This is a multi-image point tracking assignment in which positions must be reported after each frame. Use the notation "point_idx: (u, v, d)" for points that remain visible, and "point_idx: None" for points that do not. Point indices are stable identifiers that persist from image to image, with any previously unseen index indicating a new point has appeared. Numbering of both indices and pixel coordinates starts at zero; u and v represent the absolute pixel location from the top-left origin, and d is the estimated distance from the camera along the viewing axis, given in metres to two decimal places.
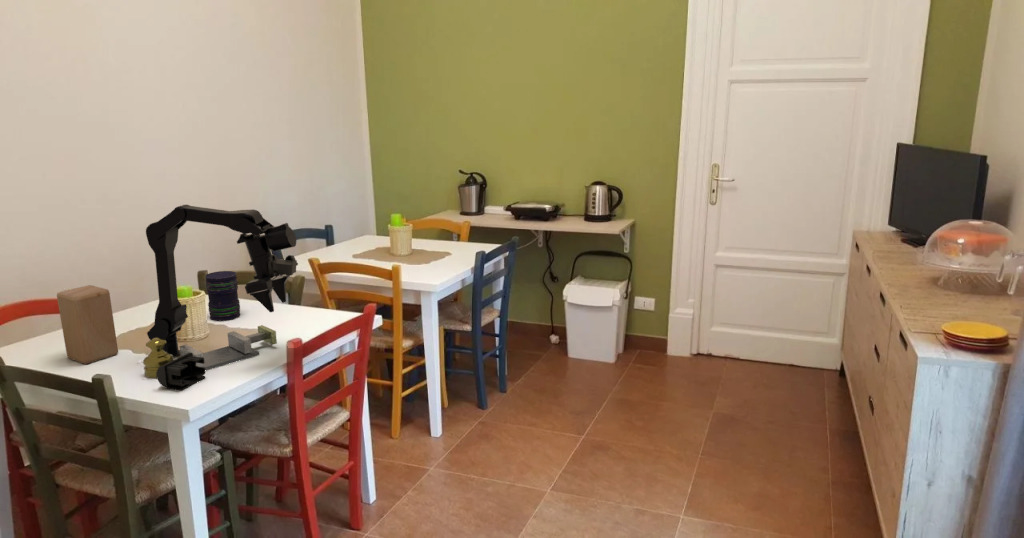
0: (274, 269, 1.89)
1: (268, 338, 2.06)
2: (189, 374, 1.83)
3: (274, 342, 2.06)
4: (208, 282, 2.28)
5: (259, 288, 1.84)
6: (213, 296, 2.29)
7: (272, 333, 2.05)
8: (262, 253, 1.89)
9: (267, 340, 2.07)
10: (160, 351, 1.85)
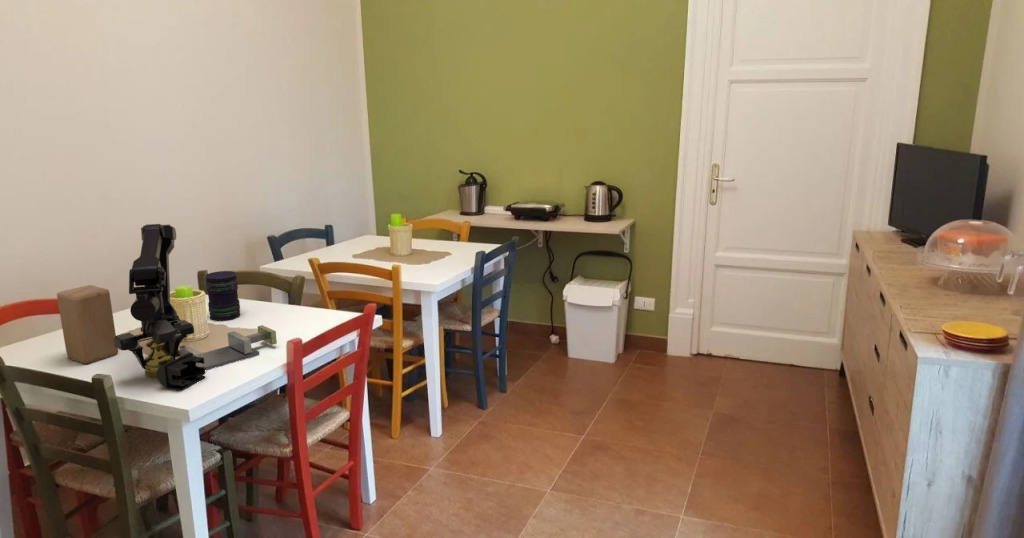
0: (148, 331, 1.80)
1: (268, 338, 2.06)
2: (189, 374, 1.83)
3: (274, 342, 2.06)
4: (208, 282, 2.28)
5: (119, 346, 1.78)
6: (213, 296, 2.29)
7: (272, 333, 2.05)
8: None
9: (267, 340, 2.07)
10: (160, 351, 1.85)
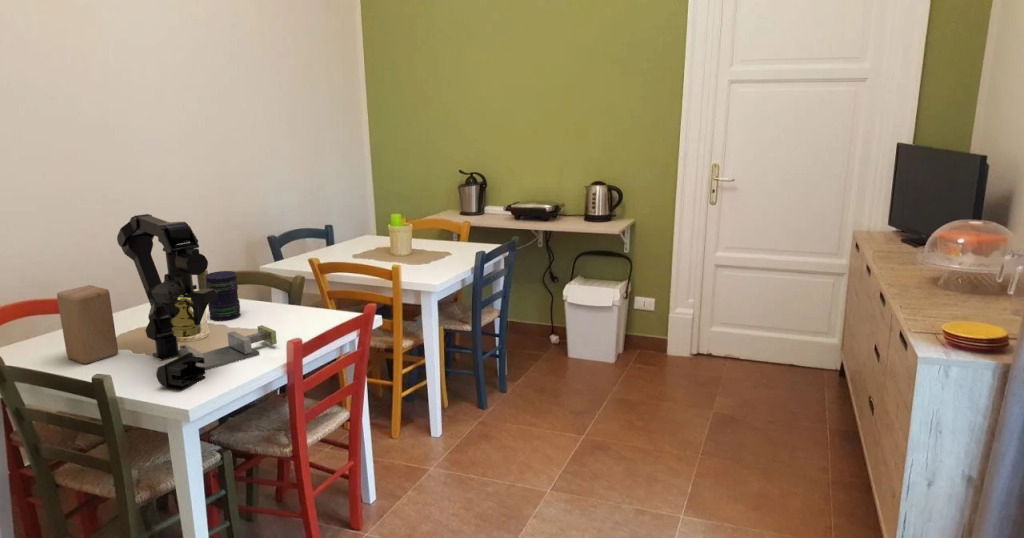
0: None
1: (268, 338, 2.06)
2: (189, 374, 1.83)
3: (274, 342, 2.06)
4: (208, 282, 2.28)
5: None
6: None
7: (272, 333, 2.05)
8: (173, 269, 1.83)
9: (267, 340, 2.07)
10: (182, 312, 1.87)
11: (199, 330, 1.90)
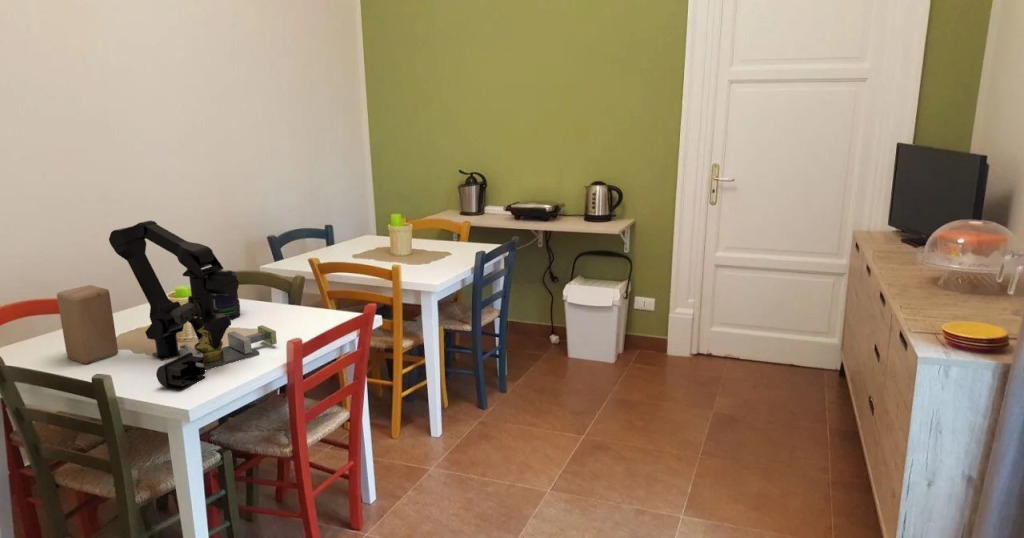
0: None
1: (268, 338, 2.06)
2: (189, 374, 1.83)
3: (274, 342, 2.06)
4: None
5: None
6: None
7: (272, 333, 2.05)
8: (201, 293, 1.88)
9: (267, 340, 2.07)
10: (203, 337, 1.93)
11: (218, 357, 1.94)
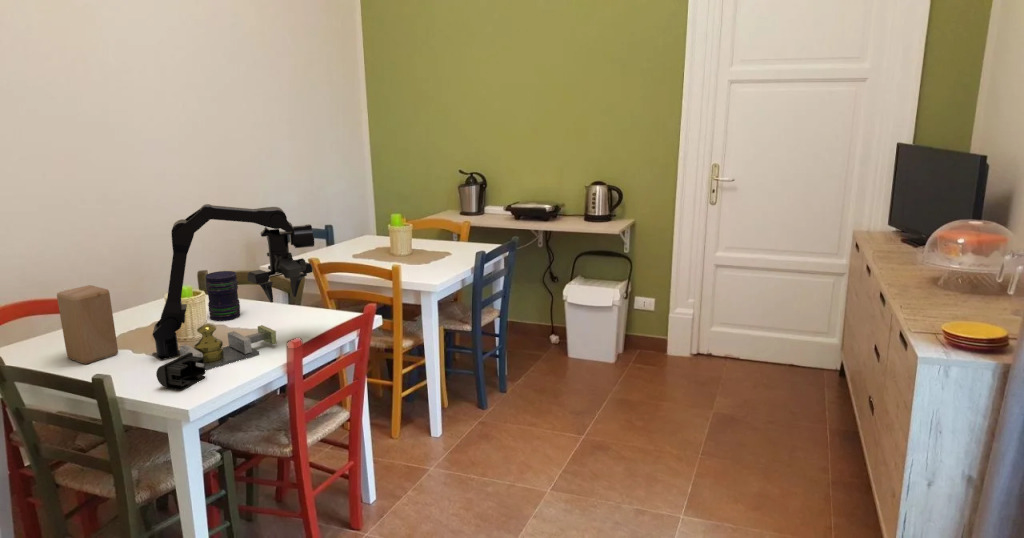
0: (278, 267, 2.03)
1: (268, 338, 2.06)
2: (189, 374, 1.83)
3: (274, 342, 2.06)
4: (208, 282, 2.28)
5: (253, 280, 2.00)
6: (213, 296, 2.29)
7: (272, 333, 2.05)
8: (285, 248, 2.04)
9: (267, 340, 2.07)
10: (203, 337, 1.93)
11: (218, 357, 1.94)
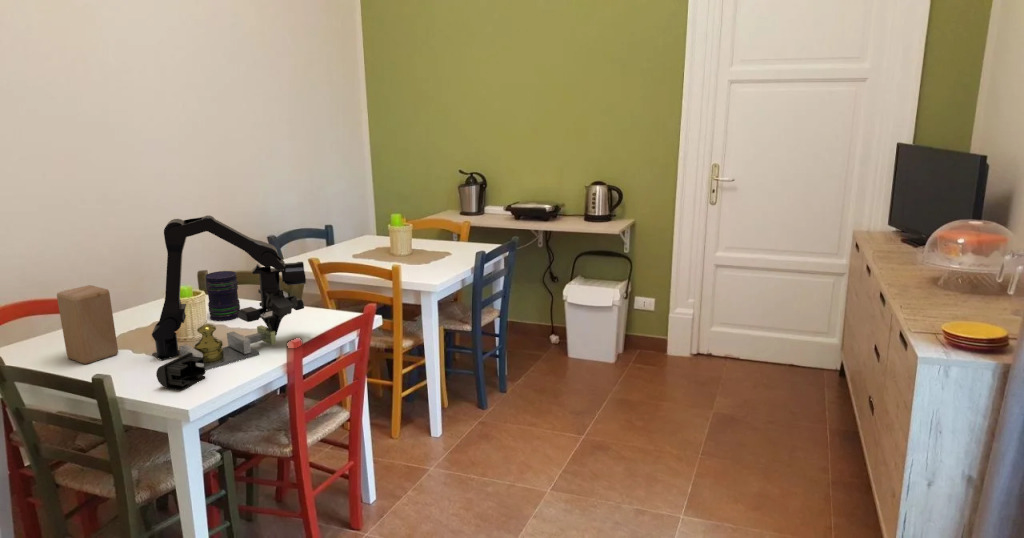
0: (269, 305, 2.03)
1: (267, 338, 2.06)
2: (189, 374, 1.83)
3: (273, 342, 2.05)
4: (208, 282, 2.28)
5: (244, 318, 2.00)
6: (213, 296, 2.29)
7: (271, 333, 2.04)
8: (276, 286, 2.04)
9: (266, 340, 2.06)
10: (203, 337, 1.93)
11: (218, 357, 1.94)
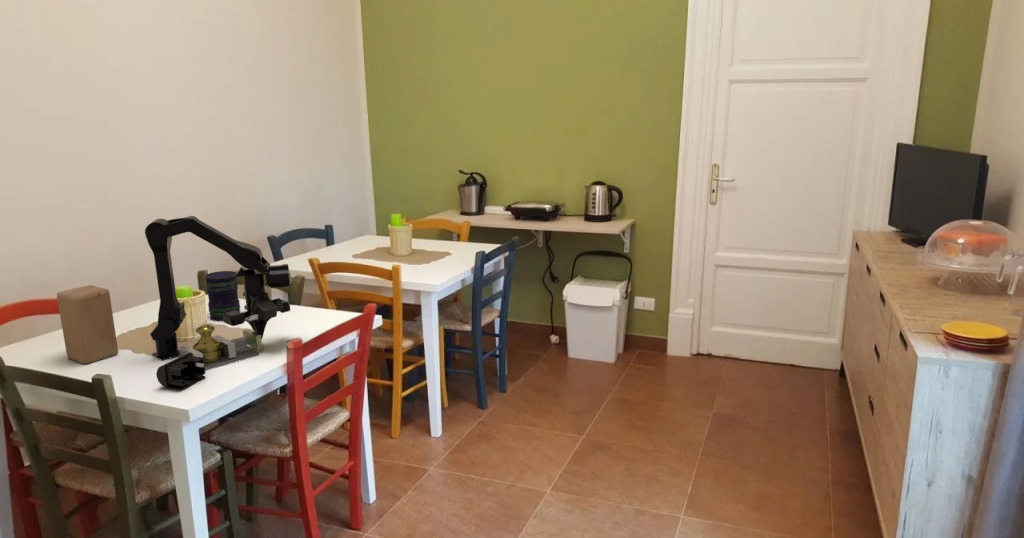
0: (254, 308, 1.99)
1: (253, 342, 2.03)
2: (189, 374, 1.83)
3: (259, 346, 2.02)
4: (208, 282, 2.28)
5: (228, 322, 1.97)
6: (213, 296, 2.29)
7: (257, 337, 2.01)
8: (260, 289, 2.00)
9: (252, 344, 2.03)
10: (201, 338, 1.93)
11: (217, 357, 1.94)
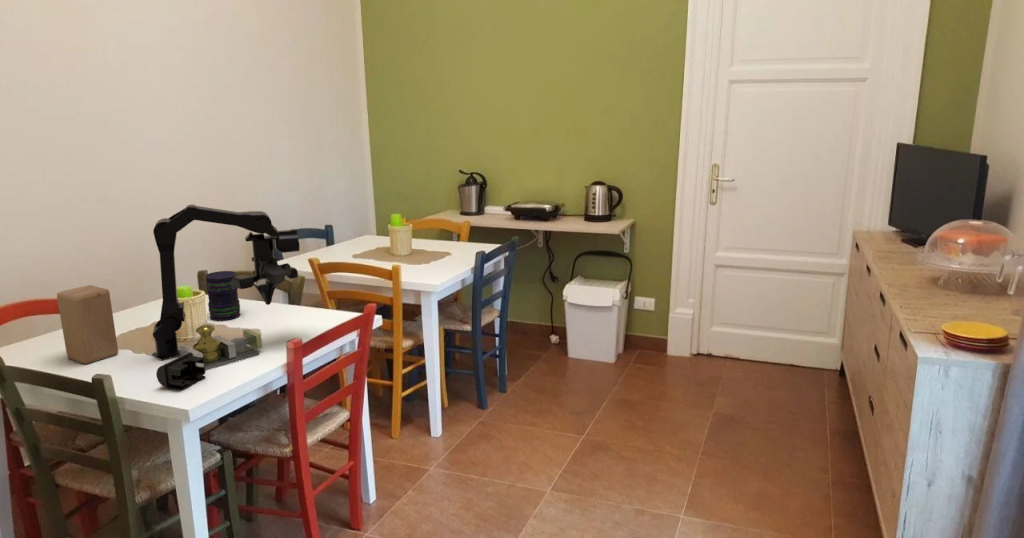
0: (262, 272, 2.01)
1: (253, 342, 2.03)
2: (189, 374, 1.83)
3: (259, 346, 2.02)
4: (208, 282, 2.28)
5: (237, 285, 1.99)
6: (213, 296, 2.29)
7: (257, 337, 2.01)
8: (270, 253, 2.03)
9: (252, 344, 2.03)
10: (201, 338, 1.93)
11: (217, 357, 1.94)
